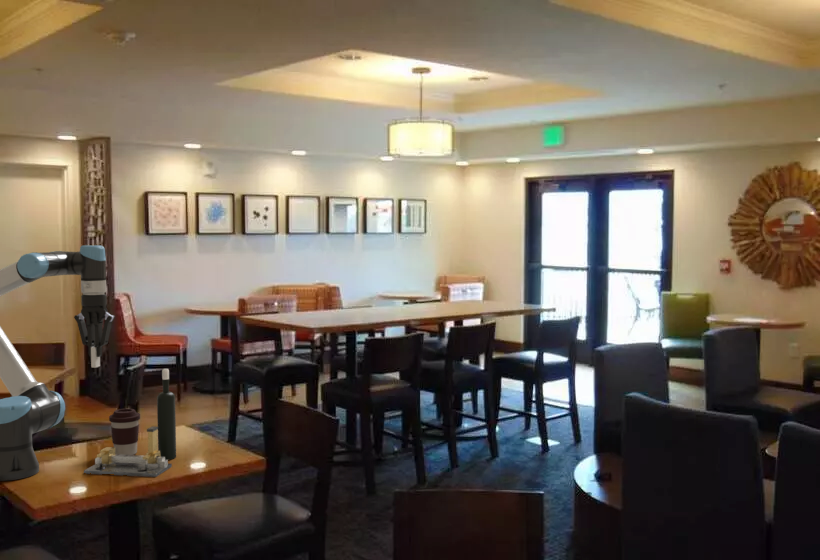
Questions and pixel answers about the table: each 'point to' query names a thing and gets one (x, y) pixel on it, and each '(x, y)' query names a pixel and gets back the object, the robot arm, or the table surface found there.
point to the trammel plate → (126, 464)
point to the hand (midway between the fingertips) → (95, 366)
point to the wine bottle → (166, 420)
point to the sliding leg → (151, 447)
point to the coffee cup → (125, 431)
